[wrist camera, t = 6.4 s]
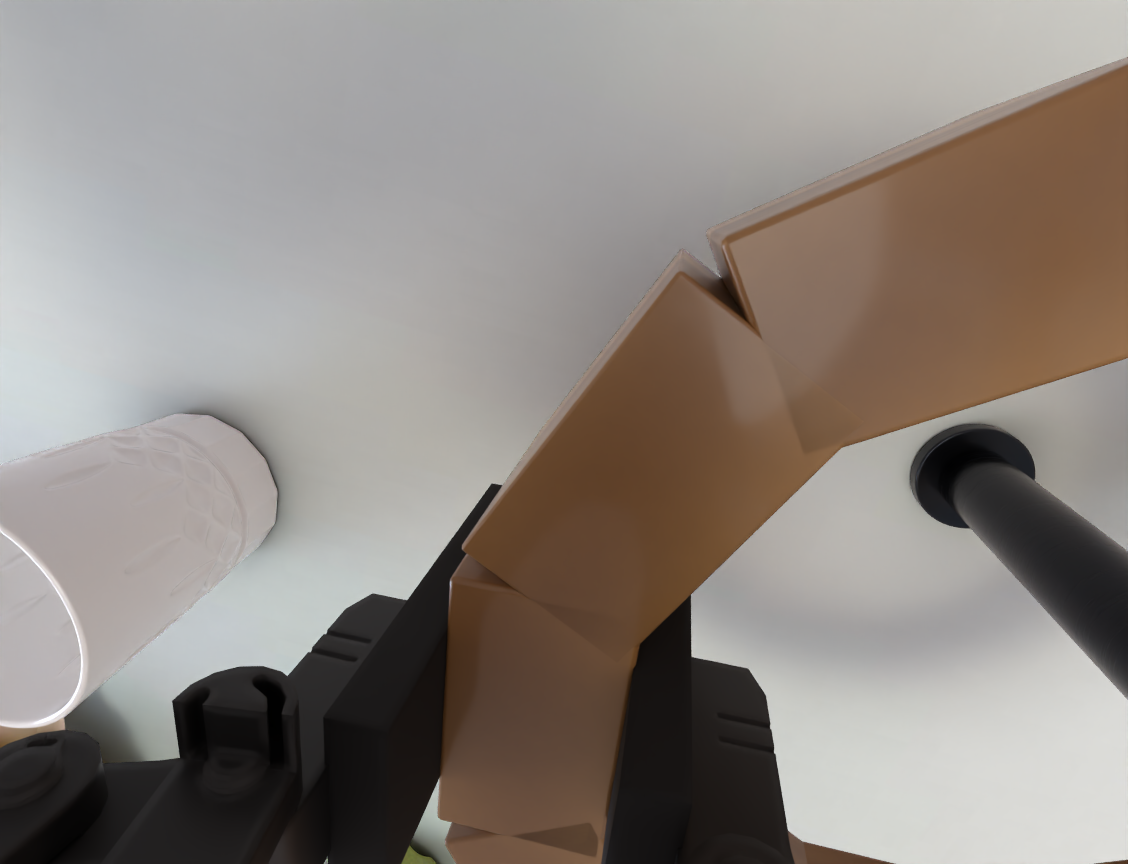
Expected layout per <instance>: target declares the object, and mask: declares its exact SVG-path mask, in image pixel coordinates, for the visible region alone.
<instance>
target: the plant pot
mask: <svg viewBox="0 0 1128 864" xmlns="http://www.w3.org/2000/svg"><path fill="white" fill-rule="evenodd" d="M401 864H437V863H436V862H435V861H434V860H433V859H432V858H431V857H425V856H422V855H420V854H418V853H417V852H415V851H414V850H413V849H412V848H411V846H410V845H409V848H408V850H407V852H406V854H405V857H404V859H403V861H402V863H401Z"/></svg>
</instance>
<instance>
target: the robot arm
mask: <svg viewBox="0 0 1128 864" xmlns="http://www.w3.org/2000/svg"><path fill="white" fill-rule="evenodd" d="M502 486H503V485H498V484H491V485H490V487H489V488H488V490H487V491H486V492H485V494H484V495H483V496H482V498H481V499H480V501H479V502H478V503H477V505H476V506H475V508H474V509H473V510H472V512H471V513H470V514H469V516H468V517H467V519H466V520H465V521H464V523H463V524H462V526H461V527H460V528H459V530H458V531H457V532H456V534H455V535H454V537H453V538H452V539H451V541H450V542H449V544H448V545H447V546H446V548H445V549H444V550H443V552H442V553H441V555H440V556H439V557H438V559H437V560H436V561H435V563H434V564H433V566H432V567H431V568H430V570H429V571H428V573H427V574H426V575H425V577H424V578H423V579H422V581H421V582H420V584H419V585H418V586H417V588H416V589H415V591H414V592H413V593H412V595H411V596H410V597H409V599H408V600H402V599H397V598H392V597H388V596H383V595H378V594H371V595H369V596H367V597H366V598H364V599H362V600H360V601H359V602H357V603H355V604H353V605H352V606H350V607H348V608H346V609H345V610H344V611H343V613H342V614H341V615H340V616H339V617H338V618H337V620H336V621H335V622H334V623H333V624H332V625H331V627H330V628H329V629H328V631H327V634H324V635H323V636H322V637H321V638H320V639H319V640H318V642H317V643H316V644H315V645H314V646H313V647H312V651H311V653H310V652H308V653H307V654H306V655H305V657H304V658H303V659H302V660H301V661H300V662H299V664H298V665H297V666H296V667H295V668H294V669H293V671H292V672H291V673H290V674H289V675H288V676H286V675H285V674H284V673H283V672H281V671H277V670H274V669H270V668H267V667H264V666H248V667H236V668H232V669H228V670H224V671H220V672H216V673H213V674H211V675H209V676H207V677H205V678H203V679H201V680H199V681H197V682H195V683H193V684H191V685H190V686H189V687H188V688H187V689H185V690H184V691H183V692H182V693H181V694H180V695H178V696H177V697H176V698H175V699H174V700H173V701H172V703H173V710H174V717H175V725H176V732H177V739H178V746H179V754H180V758H176V759H169V760H160V761H142V762H124V763H105V764H103V762H102V757H101V752H100V747H99V743H98V742H97V741H95V740H94V739H93V738H92V737H90V736H89V735H88V734H86V733H82V732H76V731H70V730H59V731H51V732H43V733H37V734H34V735H31V736H28V737H25V738H23V739H20V740H17V741H14V742H11V743H8V744H6V745H5V746H3V747H1V748H0V864H324V862H325V860H326V858H327V856H328V864H401V863H402V861H403V859H404V857H405V854H406V852H407V850H408V848H409V845H410V843H411V841H412V838H413V836H414V834H415V832H416V829H417V827H418V825H419V823H420V820H421V818H422V816H423V813H424V811H425V809H426V807H427V804H428V802H429V800H430V797H431V795H432V793H433V791H434V788H435V786H436V784H437V782H438V779H439V777H440V763H441V744H442V725H443V706H444V687H445V669H446V650H447V631H448V608H449V590H450V579H451V577H452V575H453V574H454V572H455V571H456V569H457V568H458V566H459V565H460V563H461V562H462V560H463V558H464V557H465V555H466V554H467V553H465V552H464V551H463V550H462V544H463V543H464V541H465V540H466V538H467V537H468V535H469V534H470V533H471V531H472V530H473V528H474V527H475V525H476V524H477V522H478V521H479V519H480V518H481V516H482V515H483V514H484V512H485V511H486V509H487V508H488V506H489V505H490V503H491V502H492V500H493V499H494V497H495V496H496V494H497V493H498V492H499V490H500V489H501V487H502ZM601 864H795V862H794V859H793V855H792V852H791V848H790V842H789V835H788V829H787V823H786V817H785V811H784V805H783V798H782V792H781V786H780V780H779V774H778V768H777V762H776V755H775V754H774V743H773V737H772V731H771V729H770V719H769V712H768V706H767V700H766V695H765V694H764V692H763V691H762V689H761V687H760V686H759V684H758V683H757V681H756V680H755V678H754V677H753V675H752V674H751V672H750V671H749V669H747V668H742V667H737V666H732V665H728V664H723V663H718V662H713V661H708V660H703V659H699V658H694V657H691V595H690V596H689V597H688V598H687V599H686V600H685V601H684V602H683V603H682V604H681V605H680V606H679V607H677V608H676V609H675V610H674V611H673V612H672V613H671V614H670V615H669V616H668V617H667V618H666V619H665V620H664V621H663V622H662V623H661V624H660V625H659V626H658V627H657V628H656V629H655V630H654V631H653V632H652V633H651V634H650V635H649V636H648V637H647V638H646V639H645V640H644V641H643V642H642V643H641V644H640V646H639V652H638V658H637V663H636V666H635V667H634V669H633V674H632V680H631V686H630V691H629V697H628V703H627V709H626V714H625V720H624V726H623V731H622V737H621V743H620V748H619V754H618V760H617V765H616V771H615V777H614V782H613V788H612V794H611V799H610V805H609V811H608V816H607V823H606V831H605V838H604V846H603V853H602V861H601Z"/></svg>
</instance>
